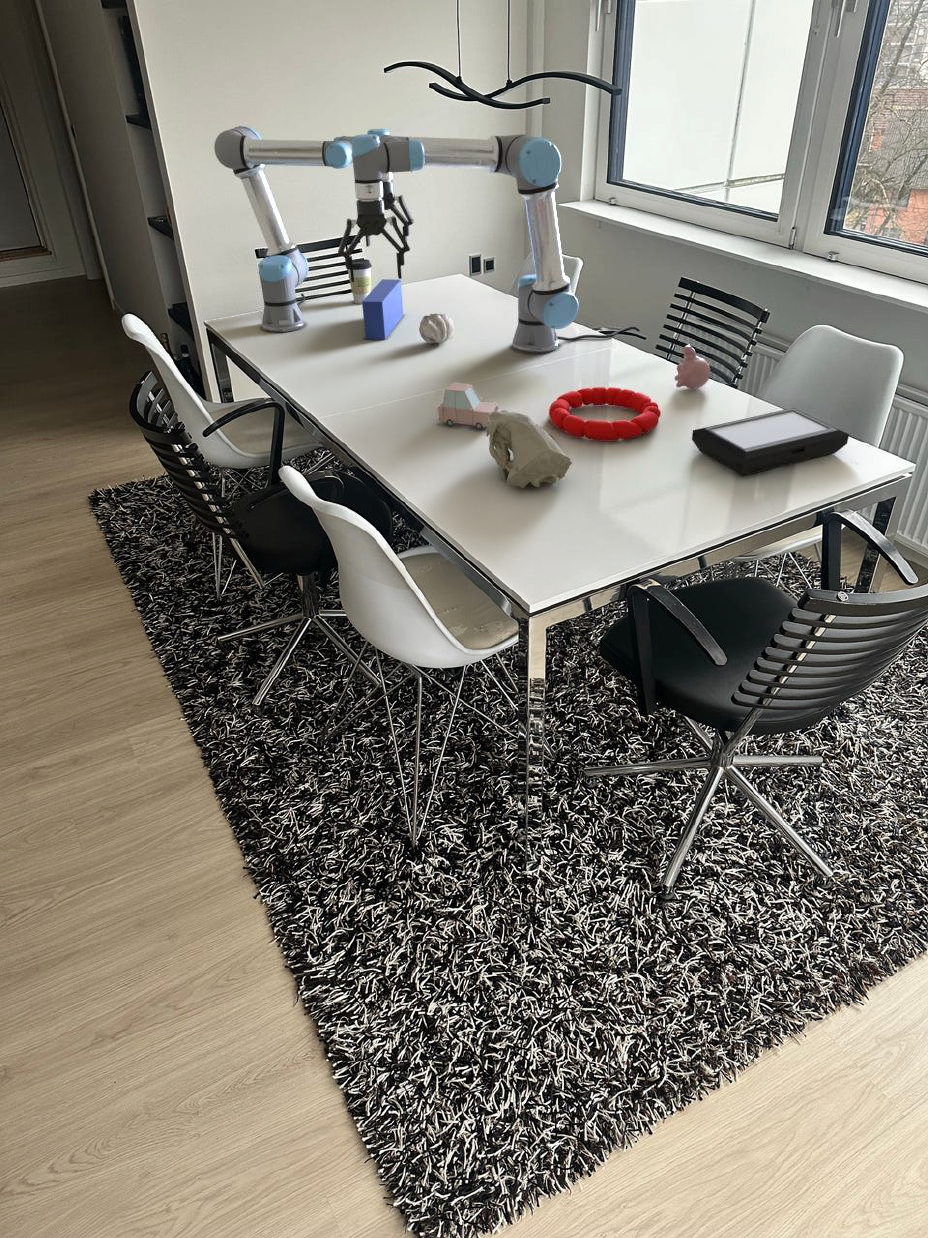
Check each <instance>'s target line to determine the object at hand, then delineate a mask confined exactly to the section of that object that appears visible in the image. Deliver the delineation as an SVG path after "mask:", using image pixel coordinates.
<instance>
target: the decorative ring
mask: <svg viewBox="0 0 928 1238" xmlns="http://www.w3.org/2000/svg"><path fill="white" fill-rule="evenodd" d="M583 405H584V406H586V407H587V406H591V405H593V406H604V405H608V406H614V407H619V408H624V409H628V410H632V411H635V412H636V413H638V414H639V415H637V416H635V417H632V418H631V419H630V420H625V419H624V420H623V419H622V420H614V421H611V422H609V421H607V420H606V421H605V420H593V419H587V420H586V421H585V419H584V418H582V417H579V416H577V415H573V414H571V413H570V410H571V409H579V408H581V407H582V406H583ZM548 416H549V419H550V422H551V423H552V425H553V426H554V427H555V428H556V429H558V430H559V431H561V432H563V433H567V434H568V435H569V436H573V437H576V438H580V439H582V438H583V437H585V438H586V439H587V440H591V441H601V442H602V441H603V442H608V441H609V442H610V441H611V442H612V441H615V442H616V441H618V440H630V439H634V438H638V437H641V436H642V434H647V433H650V432H651V431H653V430H654V429H655V428H656V427H657V426H658V424H659V422H660V421H659V420H660V417H661V410H660V408H659V405H658V403H657V402H656V401H652V399H651V397H649V396H648V395H646V394H644V393H642V392H635V391H634V390H632V389H628V388H624V389H622V388H620V387H613V386H612V387H611V386H610V387H608V388H606V387H604V386H594V387H585V388H584V387H583V388H580V389H578V390H571V391H568V392H565V393H563V394H561V395H560V396H558V397H557V398H556V400H554V401H552V403H551V404H550V407H549V409H548Z"/></svg>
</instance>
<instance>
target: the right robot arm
mask: <svg viewBox="0 0 928 1238" xmlns="http://www.w3.org/2000/svg"><path fill="white" fill-rule="evenodd" d="M352 160H353V162H352V168H353V169H352V170H353V177H354V178H353V179H354V193H355V198H356V199H357V200H356V201H355V204H356V213H357V214H356V215H357V217H356V219H351V218H350V217H349V218H346V228H345V231H344V233H343V236H342V239H341V241H340V244H339V247H338V249H337V254H338V256H339V257H343V258H344V261H345V269H346V270H347V271H348V270H350V275H351V282H354V273H353V263H352V260H353V257H352V253H353V252H354V250H355V249H356V247H357V246H358V245H359V243H360V241H362V239H363V237H365V236H364V235H367V236H370V237H371V236H380V235H381V234H382V235H383V237H384V238H385V239H386V240H387V241H388V242H389V243H390V244H391V246H393V247H394V248H395V250H396V251H397V252H396V254H395V255H396V266H397V267H396V268H397V278H398V280H402V278H403V276H402V267H403V266H405V253H408V252H410V250H411V248H410V246H409V244H408V241H407V242H406V240H405V238H404V237H403V232H402V231H401V228H400V227H399V225H398V222H397V221H398V220H397V218H396V217H397V216H396V215H391V216H390V217H386V214H385V210H384V200H383V199H381V198H382V197H383V186H382V174H383V173H393V174H394V173H407V172H410V173H412V172H415V171H421V170H422V169H423V168H448V169H449V168H455V169H456V168H459V169H486V170H487V171H488V173H493V174H494V173H497V174H503V175H506V176H510V177H512V178H515V180H516V187H517V193H518V195H519V196H520V197H523V199H524V205H525V211H526V212H525V213H526V219H527V223H528V232H529V239H530V246H531V251H532V252H531V253H532V259H533V265H534V266H533V267H534V272H535V273H534V274H526V275H522V276H521V277H519V279H518V283H517V285H518V286H517V300H518V301H517V326H516V329H515V332H514V335H513V338H512V348H513V349H514V350H515V351H517V352H520V353H525V354H546V353H550V352H553V351H555V350H557V349H558V347H559V340H561V341H566V342H574V341H578V340H581V339H611V338H614V337H615V336H616V335H619V334H622V333H625V332H627V331H631V330H635V331H636V332H641V329H640V328H639V327H637V326H628V327H625V328H622V329H619V330H617V331H616V330H615V332H613V333H610V334H602V335H601V334H583V335H578V336H575V337H574V336H573V337H565V336H559V335H557V331H556V330H562V329H565V328H567V327H569V326H570V325H571V324H572V323H573V322H574V320H575V319H576V317H577V315H578V314H579V307H580V306H579V301H578V299H577V297H576V295H574V293H572V288H571V287H572V286H571V281H570V277H568V276H567V275H565V272H564V271H565V270H564V264H563V257H562V248H561V240H560V233H559V225H558V217H557V210H556V209H557V208H556V200H555V191H556V190H557V188H558V187H559V181H558V176H559V174H560V173H561V170H562V157H561V153H560V151H559V149H558V148H557V146H556V145H555V144H554V143H553V142H551V141H549V139H546V138H544V137H539V136H533V135H529V134H524V133H522V134H521V133H520V134H509V135H490V136H489V137H488V138H487V139H481V138H458V137H457V138H456V137H455V138H454V137H430V136H429V137H427V136H400V135H399V136H398V135H397V136H396V135H394V136H393V135H390V134H389V135H381V136H379V137H378V135H375V134H367V133H365V134H364V133H363V134H357V135H354V137H353V138H352ZM387 223H388V224H389V225H390V226H392V227H393V229H394V232H395V233H396V235H397V237H398V238H399V240H400V242H401V244H402V245H403V246H402V247H401V245H400V244H399V243H398V242H397V241H396V239H394V238H393V237H392V235H391V234H390V233H389V232H388V231H387V230H386V229H385V227H386V225H387ZM355 226H357V227H358V228H359V230H358V232H357V234H356V235H355V237H354V238H353V240H352V241H351V242H350V244H349V245H348V246H347V244H348V241H349V238H350V235H351V232H352V229H354V228H355ZM346 246H347V249H346ZM345 249H346V250H345Z"/></svg>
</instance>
